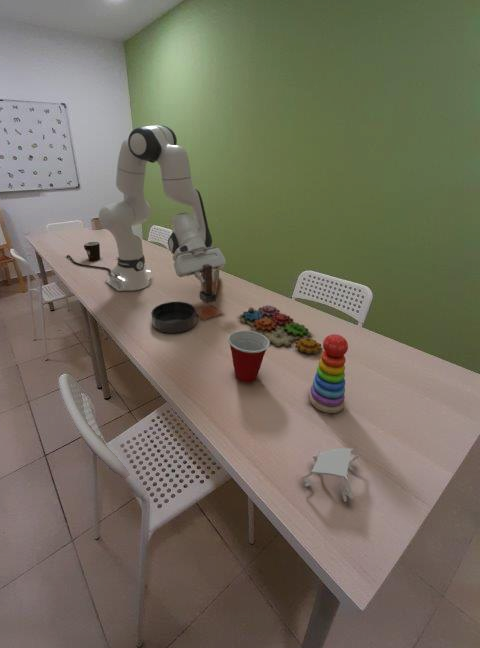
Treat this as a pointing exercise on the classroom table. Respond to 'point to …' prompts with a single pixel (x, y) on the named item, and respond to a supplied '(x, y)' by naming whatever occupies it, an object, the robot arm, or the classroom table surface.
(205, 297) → the brown post with base
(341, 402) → the stacking toy
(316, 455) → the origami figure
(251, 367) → the plastic cup
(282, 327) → the gear puzzle
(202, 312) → the plate
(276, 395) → the classroom table surface
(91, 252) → the coffee mug
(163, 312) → the pan
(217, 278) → the food box
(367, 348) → the classroom table surface
